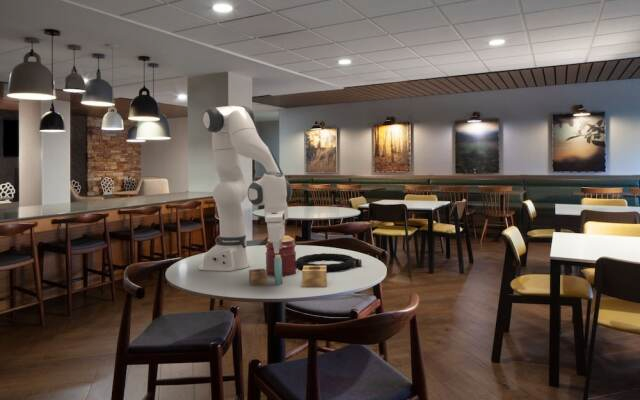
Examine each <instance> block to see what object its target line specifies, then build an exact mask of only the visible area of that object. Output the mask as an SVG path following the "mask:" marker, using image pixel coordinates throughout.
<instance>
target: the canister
mask: <svg viewBox="0 0 640 400" xmlns="http://www.w3.org/2000/svg"><path fill="white" fill-rule="evenodd" d="M294 240H295V239H294V238H293V237H291V235H285V234H284V236H283V237H282V248H281V249H279V253H274V247H273V243H270V241H269V238H267V239H266V241H267V243H266V244H265V245H264V247H265V248H266V251H265V253H264V254H265V270H266V271H267V275H271V276H275V268H274V258H275V255H280V256H281V258H282V276H289V275H293V274H295V273H296V272H297V267H296V261H297V257H296V255H297V251H296V249H295V247H296V246H297V244H296V243H295V242H294Z"/></svg>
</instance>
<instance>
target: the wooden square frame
mask: <svg viewBox="0 0 640 400" xmlns="http://www.w3.org/2000/svg"><path fill="white" fill-rule="evenodd" d="M327 273H328V272H327V270H326V265H324V266H303V270H301V276H302V277H301V279H302V281H301V286H302V287H303V288H308V287H309V288H313V287H314V288H315V287H317V288H318V287H319V288H320V287H322V288H325V287H327V282H328V281H327V280H328V279H327Z"/></svg>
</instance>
